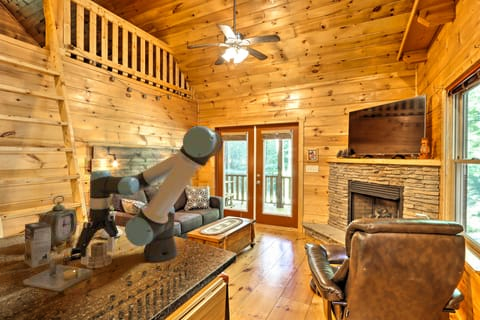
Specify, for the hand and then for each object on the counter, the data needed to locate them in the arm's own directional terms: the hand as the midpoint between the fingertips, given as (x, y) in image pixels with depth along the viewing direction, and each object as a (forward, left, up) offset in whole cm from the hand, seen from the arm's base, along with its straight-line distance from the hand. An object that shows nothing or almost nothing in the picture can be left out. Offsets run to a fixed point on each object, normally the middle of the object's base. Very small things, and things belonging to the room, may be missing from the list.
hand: (98, 257), depth 104 cm
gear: (0, 0, -2) cm, 2 cm away
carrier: (+3, +15, -2) cm, 15 cm away
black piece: (+13, -2, -3) cm, 14 cm away
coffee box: (+24, +7, -3) cm, 25 cm away
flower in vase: (+19, -29, -3) cm, 35 cm away
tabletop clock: (+34, -10, -3) cm, 35 cm away
